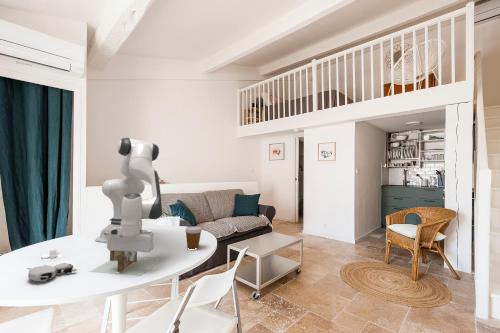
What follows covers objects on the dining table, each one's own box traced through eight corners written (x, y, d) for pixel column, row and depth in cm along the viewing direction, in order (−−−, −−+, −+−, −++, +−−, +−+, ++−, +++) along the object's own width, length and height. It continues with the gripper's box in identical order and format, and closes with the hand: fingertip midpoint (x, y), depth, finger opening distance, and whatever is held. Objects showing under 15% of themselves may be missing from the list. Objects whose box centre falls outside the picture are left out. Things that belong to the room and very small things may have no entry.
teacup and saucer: (37, 259, 120) (38, 251, 120) (55, 254, 128) (55, 247, 128) (49, 262, 117) (49, 254, 117) (66, 257, 125) (66, 249, 125)
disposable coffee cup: (187, 245, 148) (187, 225, 148) (202, 246, 147) (203, 226, 148) (182, 250, 138) (183, 229, 138) (199, 251, 138) (199, 230, 138)
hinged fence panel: (132, 260, 118) (133, 247, 118) (136, 260, 118) (136, 248, 118) (117, 271, 105) (117, 257, 105) (121, 272, 105) (121, 257, 105)
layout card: (89, 272, 107) (89, 271, 107) (118, 256, 127) (118, 255, 127) (140, 276, 104) (140, 275, 104) (162, 259, 124) (162, 258, 124)
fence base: (109, 260, 120) (110, 245, 120) (112, 259, 122) (112, 244, 122) (135, 262, 118) (135, 247, 118) (137, 261, 120) (138, 246, 120)
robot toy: (67, 269, 112) (23, 278, 100) (68, 259, 112) (25, 267, 100) (77, 276, 105) (32, 287, 92) (79, 266, 105) (34, 275, 93)
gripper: (156, 229, 112) (155, 259, 112) (114, 227, 113) (113, 257, 113) (150, 232, 106) (149, 264, 105) (105, 230, 107) (104, 262, 107)
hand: (130, 260), depth 109 cm, fingers closed
